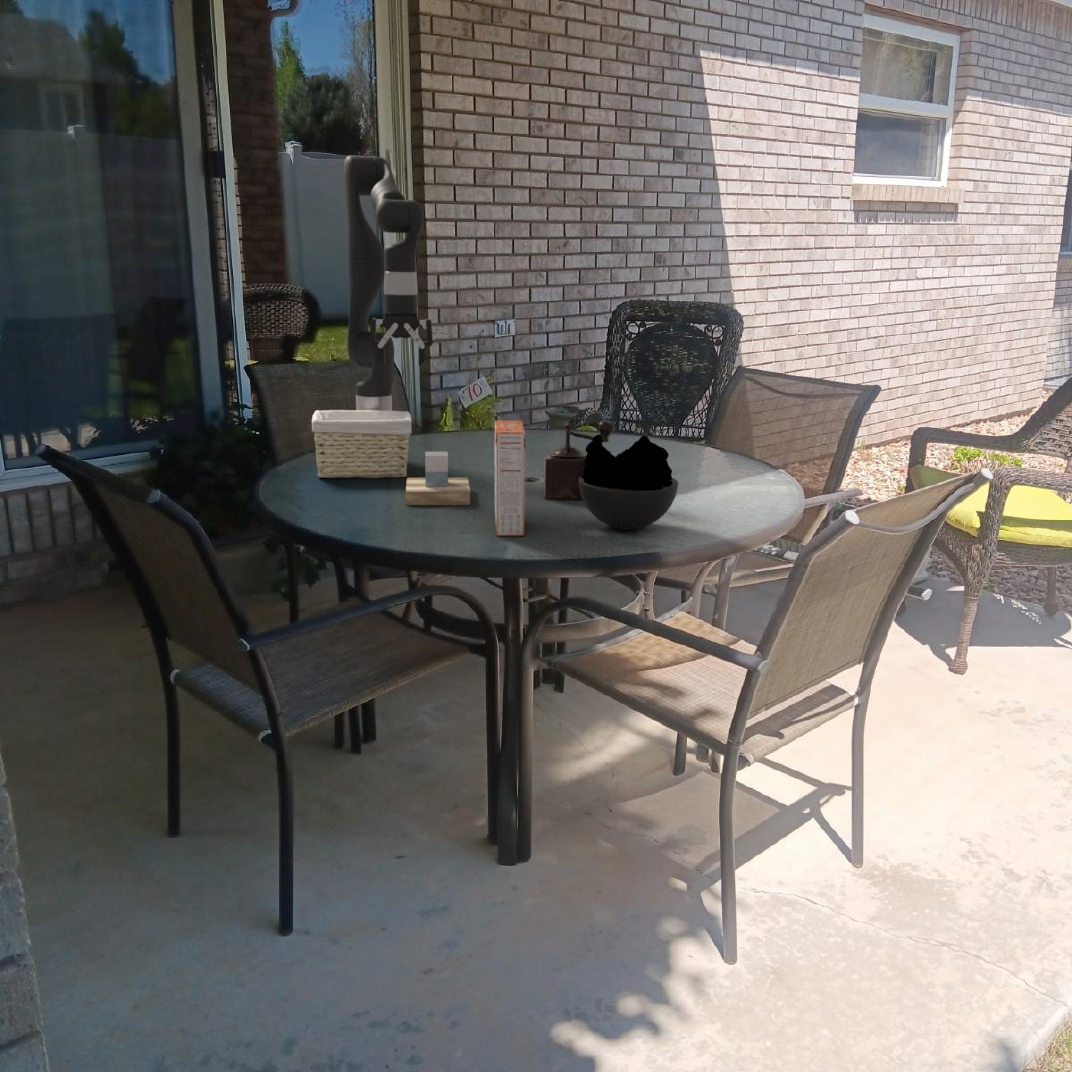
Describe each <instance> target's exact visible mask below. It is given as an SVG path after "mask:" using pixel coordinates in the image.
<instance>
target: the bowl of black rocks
mask: <svg viewBox="0 0 1072 1072" xmlns="http://www.w3.org/2000/svg"><path fill="white" fill-rule="evenodd" d="M650 440H651V439H650V438H649V437H648V435H642V436H640V438H639V439H638V440H637V441H634V443H633V444H632V445H631V446H630V447H629V448H627V449H624V450H623V451H621V452H620V453H617V454H616V456H615V455H614V454H612V453H611V451H609V450H608V449H607V448H606V447H605V446H604V445H603V442H602V436H601V435H599V434H596V435H594V436H593V439H592V440H591V441H590V442H589V443H588V444H587V445H586V446H585V447H586V448H585V449H584V452H587V455H586V459H585V467H584V475H582V476H580V478H579V489H580V493H581V496H582V499H581V500H582V501H583V503H584V505H585V507H586V508H587V510H588V511H589V512H590V513H591V515H592V516H594V517H595V518H596V519H597V520H599V521H600V522H602V523H603V524H605V525H606V526H609V527H611V528H615V529H617V530H618V529H619V530H627V531H628V530H637V529H643V528H646V527H648V526H650V525H652V524H653V523H655V522H657V521H659V520H660V519H661V518H662V517H663V516H664V515H665V514H666V513H667V512H668V511H669V510H670V508H671V506H672V504H673V503H674V501H675V499H676V496H677V492H678V488H679V481H678V480H677V479H675V477H673V476H672V473H673V470H672V468H671V466H670V465H669V463H668V460H667V459H668V458H669V456H670V454H669V453H668V450H666V449H665V448H664V447H662V446H659V445H658V444H657V443H654V442H652V441H650Z"/></svg>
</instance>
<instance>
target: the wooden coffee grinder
mask: <svg viewBox="0 0 1072 1072" xmlns="http://www.w3.org/2000/svg"><path fill="white" fill-rule="evenodd" d="M597 426H598V427H597V428H598V431H599V433H598V435H601V436H602V443H608V442H610V439H609V437H610V435H612V434H613V433H614V432H615V430H616V427H615V424H613V422H611V421H609V420H605V419H604V420H602V421H600V422H599V423H598V425H597ZM571 427H572V425H571V423H566V424H565V430H564V433H565V445H563V446H560V447H558V448H556V449H555V450H545V452H544V469H543V470H544V471H543V488H542V490H543V498H544V499H545V500H565V501H566V500H567V501H569V500H583V499H582V496H581V493H580V489H579V478H580V476H582V475H584V467H585V459H586V455H587V452H586V451H581V450H580V449H578V448H577V447H576V446H575V447H574V446H571V443H570V440H571V436H573V437H576V438H581V439H586V440H590V441H592V439H593V437H594V436H592V435H588V434H584V433H578V432H574V431H572V429H571Z"/></svg>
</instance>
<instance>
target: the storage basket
mask: <svg viewBox="0 0 1072 1072" xmlns="http://www.w3.org/2000/svg"><path fill="white" fill-rule="evenodd" d="M311 417H312V418H311V432H313V433H314V438H313V440H314V442H315V456H316V460H315V461H316V467H317V477H319V478H322V479H323V478H324V479H325V478H327V479H331V478H334V479H335V478H344V479H345V478H348V479H352V478H366V479H380V478H406V477H407V475H408V473H407V469H408V467H407V466H408V461H409V460H408V458H409V450H410V449H409V448H410V446H409V443H410V437H411V434H412V423H413V422H412V421H413V420H412V416H411V413H410V411H408V410H406V411H405V410H404V411H401V410H392V411H380V410H356V409H355V410H353V409H352V410H351V409H350V410H349V409H329V410H327V409H324V410H319V409H318V410H315V411H314V413H313V414H312V416H311Z"/></svg>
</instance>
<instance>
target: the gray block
mask: <svg viewBox="0 0 1072 1072" xmlns="http://www.w3.org/2000/svg"><path fill="white" fill-rule="evenodd" d="M448 453H449V452H448V451H424V458H425V459H424V461H425V462H424V465H425V467H424V468H425V469H424V473H425V474H424V478H425V486H426V487H448V478H449V454H448Z"/></svg>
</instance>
